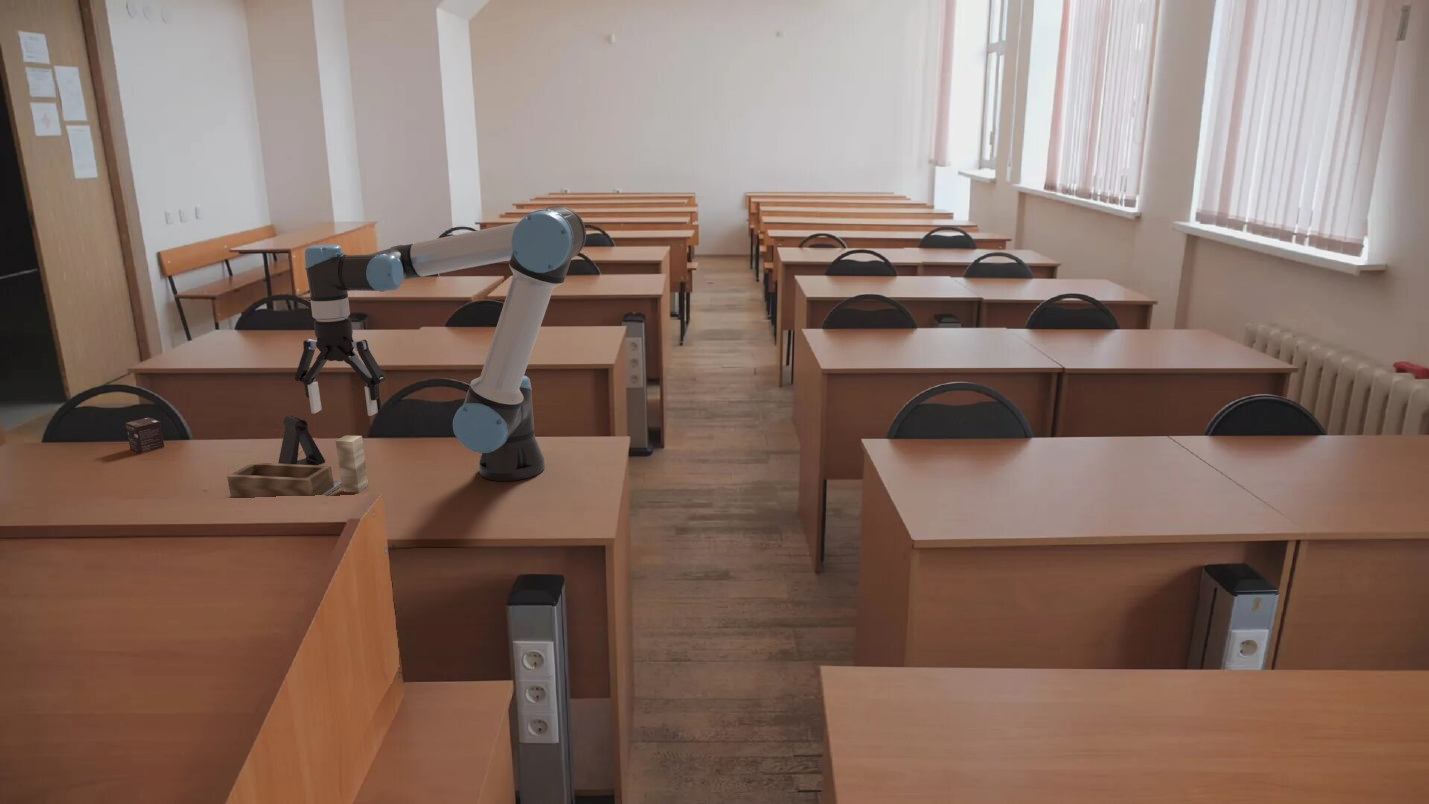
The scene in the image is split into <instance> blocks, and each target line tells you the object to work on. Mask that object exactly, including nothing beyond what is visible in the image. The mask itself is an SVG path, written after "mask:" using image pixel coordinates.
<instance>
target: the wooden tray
mask: <svg viewBox="0 0 1429 804" xmlns="http://www.w3.org/2000/svg"><path fill="white" fill-rule="evenodd" d="M332 470H333V469H332V466H331V465H319V464H318V465H297V464H278V462H277V463H274V462H251V463H249V464H247V465H246V466H244V467H242V468H240V469H238V470H236V471H235V472H233V473H231V474H229V475H227V476H226V478H227V482H228V483H227V484H228V487H229V488H228V489H229V495H230V497H229V498H255V497H276V496H315V495H327V494H330V493H331V494H332V491H333V490H335V489H337V488H338V487H340V488H342V487H341V486H342V483H341V480H334V478H333V477H334V476H333V471H332ZM337 490H338V489H337ZM331 494H330V495H331Z"/></svg>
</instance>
